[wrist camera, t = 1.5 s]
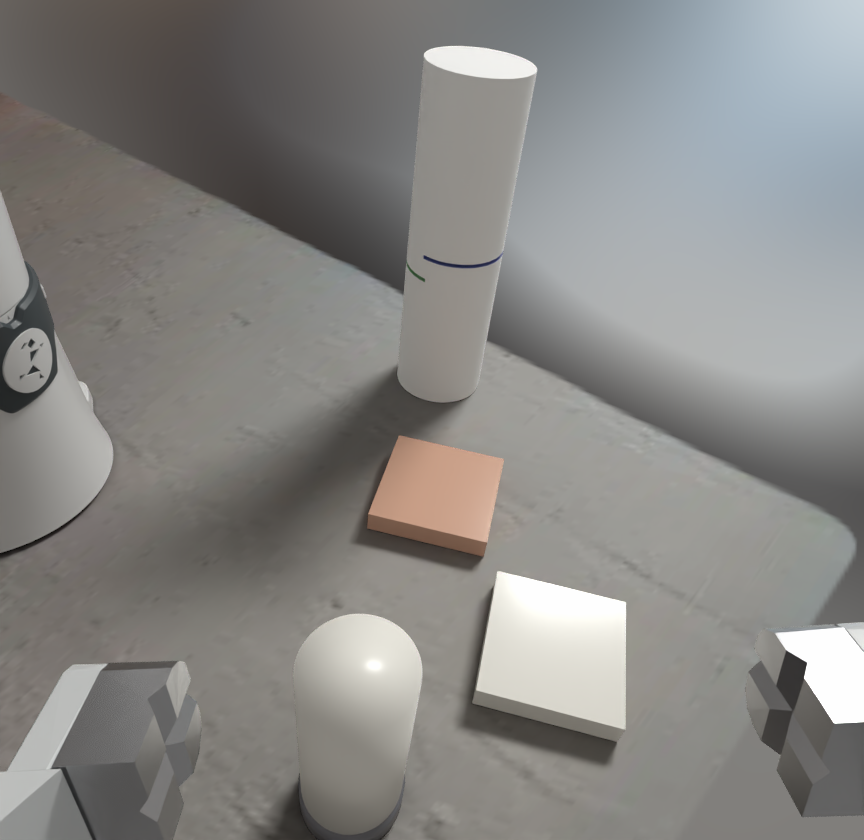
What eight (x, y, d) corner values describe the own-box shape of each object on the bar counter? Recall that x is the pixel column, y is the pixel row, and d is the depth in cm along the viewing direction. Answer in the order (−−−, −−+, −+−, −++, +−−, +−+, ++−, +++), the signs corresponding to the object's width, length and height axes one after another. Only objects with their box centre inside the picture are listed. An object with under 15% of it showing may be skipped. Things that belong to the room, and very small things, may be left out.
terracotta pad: (367, 528, 45) (368, 513, 44) (397, 449, 51) (399, 435, 50) (483, 556, 45) (487, 542, 44) (500, 473, 51) (504, 459, 50)
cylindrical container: (456, 413, 55) (510, 86, 39) (381, 382, 57) (402, 59, 41) (491, 370, 60) (553, 63, 44) (421, 342, 62) (455, 40, 46)
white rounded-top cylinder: (283, 833, 31) (268, 717, 24) (320, 729, 35) (317, 598, 27) (386, 863, 31) (406, 755, 23) (412, 755, 35) (437, 629, 27)
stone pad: (472, 703, 37) (475, 690, 36) (493, 585, 43) (497, 570, 42) (617, 742, 36) (625, 729, 35) (618, 616, 42) (625, 602, 41)
